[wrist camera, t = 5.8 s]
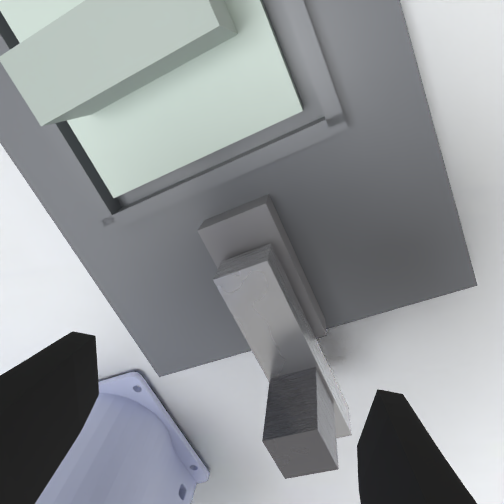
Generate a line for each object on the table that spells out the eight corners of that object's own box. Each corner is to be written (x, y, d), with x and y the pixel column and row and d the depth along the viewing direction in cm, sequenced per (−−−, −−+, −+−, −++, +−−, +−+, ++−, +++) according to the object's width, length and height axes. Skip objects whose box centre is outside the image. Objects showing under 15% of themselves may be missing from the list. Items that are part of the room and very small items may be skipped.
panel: (464, 268, 18) (489, 301, 15) (168, 358, 22) (151, 393, 20) (297, -324, 11) (295, -433, 9) (-81, -22, 16) (-152, -37, 13)
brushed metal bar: (348, 407, 18) (359, 504, 14) (304, 417, 19) (303, 513, 15) (271, 243, 15) (257, 307, 11) (221, 261, 16) (191, 328, 12)
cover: (303, 107, 14) (301, 123, 11) (126, 189, 17) (73, 226, 13) (202, -154, 12) (152, -259, 8) (7, -13, 14) (-104, -41, 10)
